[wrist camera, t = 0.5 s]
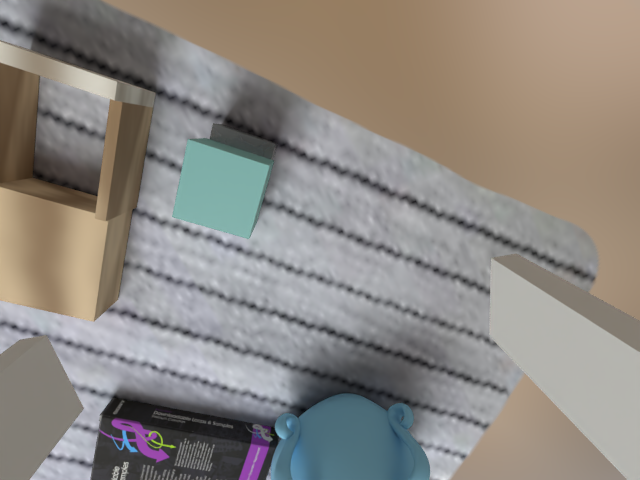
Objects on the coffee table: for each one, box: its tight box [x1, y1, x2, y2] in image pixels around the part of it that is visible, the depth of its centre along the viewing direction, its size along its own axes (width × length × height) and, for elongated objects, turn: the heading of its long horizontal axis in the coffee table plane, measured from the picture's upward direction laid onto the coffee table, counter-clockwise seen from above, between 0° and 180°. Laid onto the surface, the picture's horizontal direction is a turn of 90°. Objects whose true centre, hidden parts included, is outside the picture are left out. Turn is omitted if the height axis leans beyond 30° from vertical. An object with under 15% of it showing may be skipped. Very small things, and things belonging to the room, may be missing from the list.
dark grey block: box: [210, 123, 278, 160], centre depth 28 cm, size 5×8×3 cm, turn 162°
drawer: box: [0, 40, 156, 322], centre depth 26 cm, size 10×20×6 cm, turn 162°
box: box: [91, 398, 279, 480], centre depth 38 cm, size 14×4×20 cm
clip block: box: [172, 138, 274, 239], centre depth 24 cm, size 6×6×4 cm
